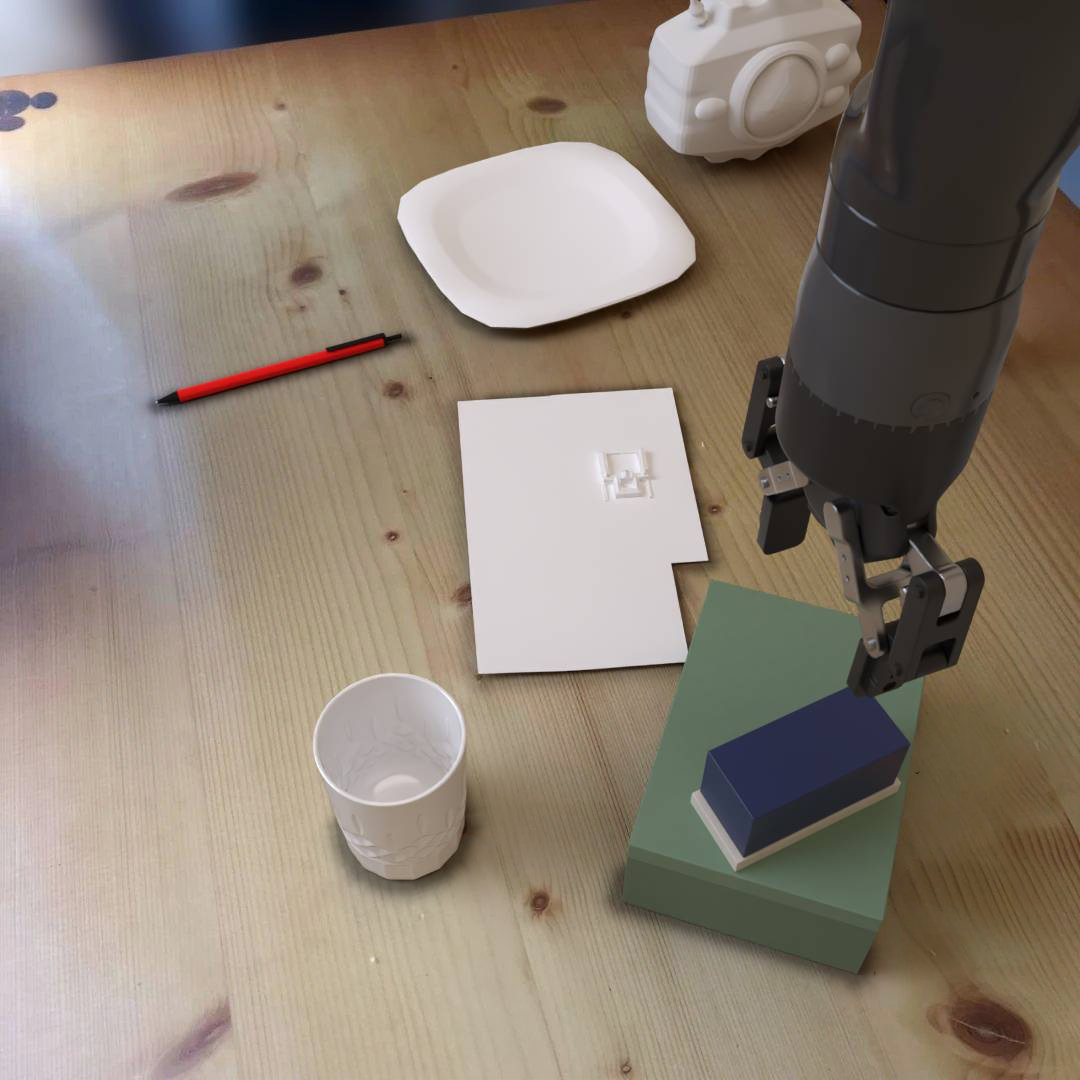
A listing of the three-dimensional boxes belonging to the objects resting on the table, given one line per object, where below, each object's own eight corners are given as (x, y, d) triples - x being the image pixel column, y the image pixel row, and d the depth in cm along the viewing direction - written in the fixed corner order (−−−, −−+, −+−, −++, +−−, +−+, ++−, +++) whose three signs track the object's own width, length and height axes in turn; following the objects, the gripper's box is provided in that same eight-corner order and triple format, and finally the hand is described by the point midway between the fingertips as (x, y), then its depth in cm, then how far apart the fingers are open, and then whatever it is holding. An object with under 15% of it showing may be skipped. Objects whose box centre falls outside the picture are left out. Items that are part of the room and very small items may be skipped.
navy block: (848, 727, 71) (866, 675, 67) (897, 792, 68) (919, 742, 64) (689, 802, 68) (699, 752, 64) (735, 872, 65) (747, 825, 61)
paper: (441, 404, 96) (440, 394, 95) (669, 381, 97) (670, 371, 97) (479, 688, 80) (479, 679, 79) (750, 656, 82) (752, 646, 81)
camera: (627, 141, 117) (638, -31, 105) (800, 96, 122) (829, -74, 110) (685, 210, 111) (702, 35, 99) (864, 159, 116) (903, -14, 103)
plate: (724, 281, 105) (727, 264, 104) (479, 362, 99) (478, 345, 98) (599, 141, 117) (600, 124, 116) (374, 205, 111) (372, 188, 110)
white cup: (364, 914, 71) (343, 830, 64) (317, 796, 76) (291, 705, 68) (496, 857, 73) (491, 768, 66) (442, 746, 78) (431, 651, 70)
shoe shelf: (906, 700, 80) (932, 634, 75) (857, 974, 69) (883, 921, 64) (699, 645, 83) (710, 578, 77) (621, 901, 72) (628, 844, 66)
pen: (403, 343, 100) (402, 332, 100) (157, 411, 96) (154, 400, 95) (400, 336, 101) (398, 325, 100) (155, 403, 96) (151, 392, 96)
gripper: (1103, 453, 44) (980, 711, 56) (884, 210, 52) (820, 482, 65) (907, 515, 42) (826, 767, 54) (714, 254, 50) (682, 524, 63)
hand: (822, 612), depth 60 cm, fingers open, 8 cm apart
